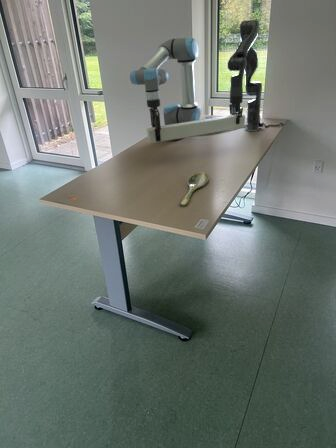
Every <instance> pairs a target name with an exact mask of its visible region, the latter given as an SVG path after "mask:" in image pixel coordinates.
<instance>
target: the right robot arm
mask: <svg viewBox="0 0 336 448" xmlns="http://www.w3.org/2000/svg"><path fill="white" fill-rule="evenodd" d="M259 32H260V21H259V20H257V19H249V20H248V19H247V20H242V21H241V22H240V25H239V36H240V42H239V43H238V45H237V47H236V50H235V51H234V53H233V54H232V55H231V56H230V58H229V59H228V61H227V65H226V66H227V69H228V71H230V72H238V74H235V75H232V76H231V77H230V88H229V89H230V90H229V105H228V106H229V114H230V115H236V124H240V117H242V114H243V113H244V112H243V111H244V107H242V106H241V104H242V103H243V97H244V88H243V85H244V84H243V82H245V94H246V96H248V97H254V98H253V99H251V100H249V101H247V103H246V122H245V125H246V126H245V130H246V131H248V132H256V131H259V130H260V128H264V127H265V128H268V127H279V126H280V125H282V126H283V125H285V124H284V123H283V122H280V123H278V124H268V125H266V123H264V121H261V101H262V93H263V92H262V91H263V83H262V82H261V81H252V78H253V76H254V74H255V72H256V71H257V70H258V67H259V56H258V55H259V54H258V53H257V51H256V49H254V48H253V46H252V45H253V44H254V42H255V41H256V39H257V37H258V35H259ZM244 79H245V81H244ZM237 114H238V116H237ZM240 114H241V115H240Z"/></svg>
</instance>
